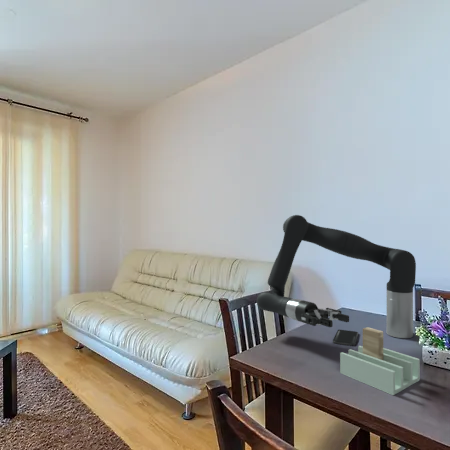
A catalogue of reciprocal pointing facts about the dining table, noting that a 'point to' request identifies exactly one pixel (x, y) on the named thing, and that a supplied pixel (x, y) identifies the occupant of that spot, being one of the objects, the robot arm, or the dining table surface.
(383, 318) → the dining table surface
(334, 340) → the phone
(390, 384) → the slotted rack
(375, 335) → the tan wooden block
